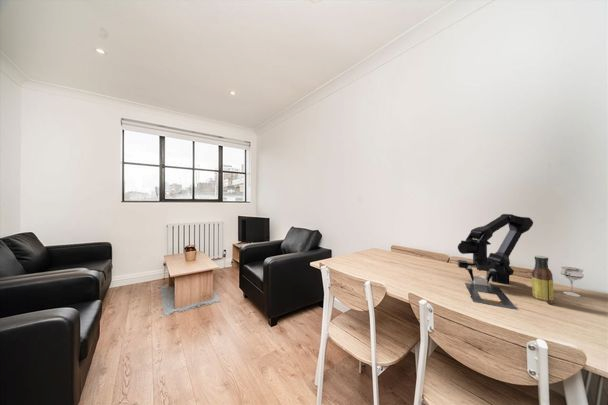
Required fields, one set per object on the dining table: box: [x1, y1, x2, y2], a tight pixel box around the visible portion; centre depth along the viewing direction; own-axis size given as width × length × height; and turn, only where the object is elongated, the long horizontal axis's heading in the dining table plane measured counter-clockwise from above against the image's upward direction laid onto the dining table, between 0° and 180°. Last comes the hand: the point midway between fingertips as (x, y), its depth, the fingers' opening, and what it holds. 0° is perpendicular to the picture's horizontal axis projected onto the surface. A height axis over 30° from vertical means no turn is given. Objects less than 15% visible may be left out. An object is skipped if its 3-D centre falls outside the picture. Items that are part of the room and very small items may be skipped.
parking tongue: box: [469, 279, 491, 287], centre depth 110 cm, size 8×5×1 cm, turn 61°
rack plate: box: [464, 282, 517, 310], centre depth 99 cm, size 14×20×1 cm
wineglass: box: [559, 266, 584, 297], centre depth 98 cm, size 7×7×12 cm
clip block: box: [473, 274, 487, 286], centre depth 110 cm, size 5×5×3 cm
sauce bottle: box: [531, 255, 555, 305], centre depth 93 cm, size 6×6×20 cm
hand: (479, 282), depth 110 cm, fingers open, 6 cm apart
